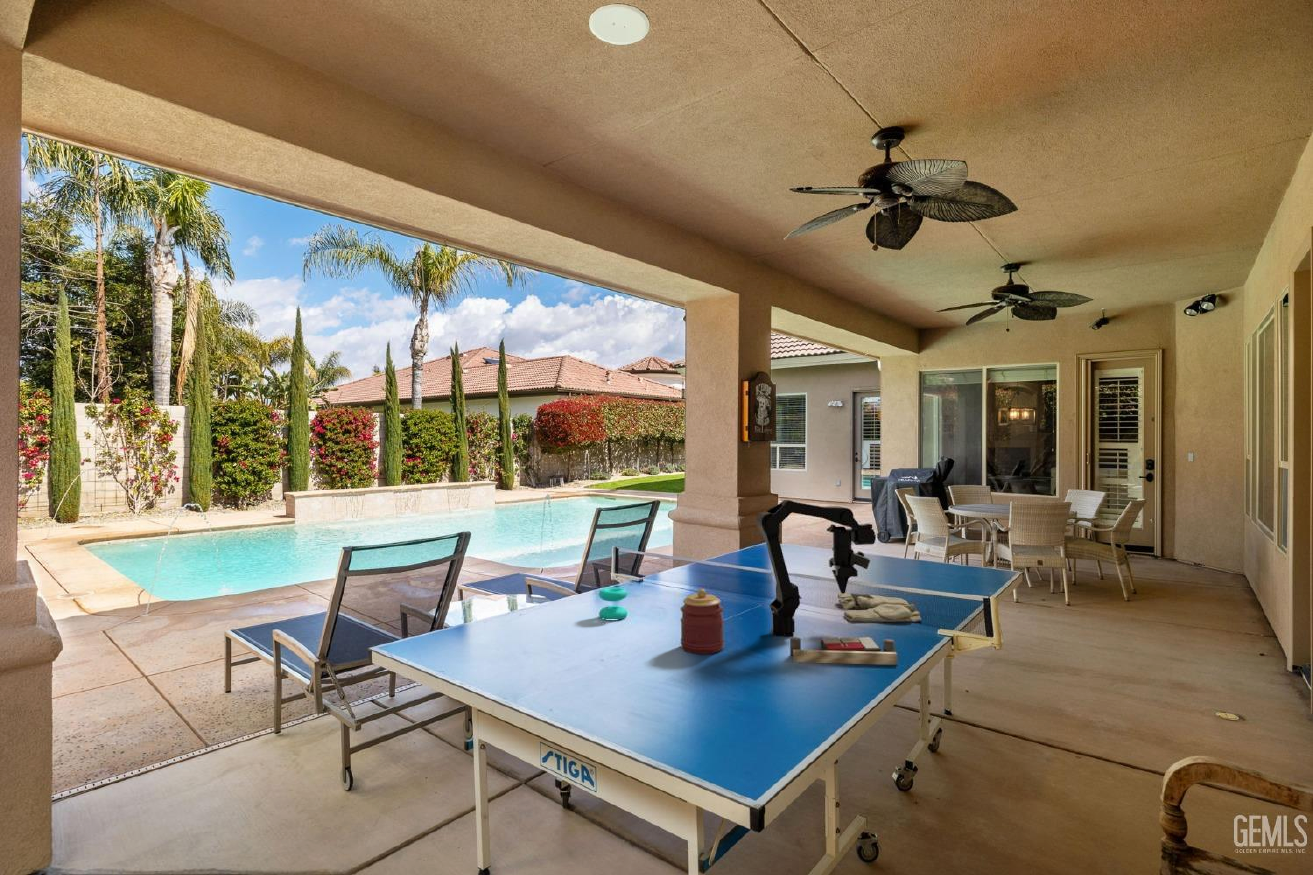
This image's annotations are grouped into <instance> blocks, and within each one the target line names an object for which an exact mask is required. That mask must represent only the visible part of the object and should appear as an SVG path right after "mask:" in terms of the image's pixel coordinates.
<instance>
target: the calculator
mask: <svg viewBox="0 0 1313 875" xmlns="http://www.w3.org/2000/svg"><path fill="white" fill-rule="evenodd" d="M820 650H829V651H870V652H882V649H881V648H880V646H879V645H878V644H877V643H876V641H875V640H874V639H873V638H872V637H869V636H867V637H858V638H857V637H856V636H855V637H854V636H852V637H851V636H849V637H848V636H847V637H840V638H839V637H827V638H826V637H825V638H822V639H821V640H820Z"/></svg>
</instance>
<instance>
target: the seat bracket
mask: <svg viewBox="0 0 1313 875" xmlns="http://www.w3.org/2000/svg"><path fill="white" fill-rule="evenodd" d="M789 640H790V641H789V644H790V645H789V651H790V652H789V653H790V654H789V655H790V657H791V658H792V660H793V663H811V664H813V663H815V664H817V663H818V664H821V663H822V664H849V665H850V664H851V665H853V664H854V665H855V664H857V665H859V664H860V665H891V666H894V665H895V666H898V653H897V652H896V650H895V648H896V646H895V640H894V639H891V638H889V639H888V638H887V639H886V638H884V639H883V640H882V648H883V649H882V651H881V652H870V651H829V650H822V649H818V650H817V649H802V645H801V644H802V642H801V641H802V638H800V637H798V636H790V638H789Z"/></svg>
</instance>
